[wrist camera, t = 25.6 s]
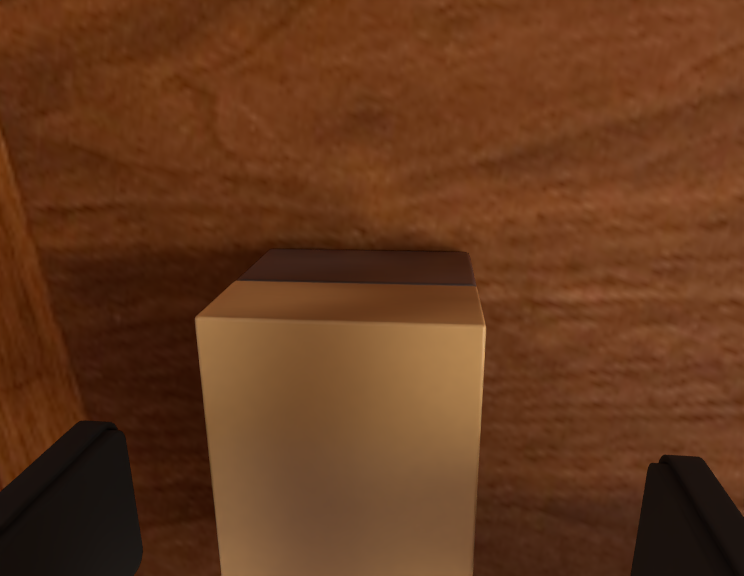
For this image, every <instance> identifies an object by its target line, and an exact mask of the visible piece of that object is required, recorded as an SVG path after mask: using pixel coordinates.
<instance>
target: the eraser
mask: <svg viewBox="0 0 744 576" xmlns="http://www.w3.org/2000/svg"><path fill="white" fill-rule="evenodd" d="M195 327H196V337H197V346H198V356H199V366H200V375H201V385H202V394H203V404H204V413H205V423H206V433H207V442H208V452H209V461H210V471H211V480H212V490H213V500H214V509H215V519H216V528H217V538H218V547H219V557H220V567H221V576H473V562H474V544H475V525H476V507H477V488H478V470H479V451H480V433H481V414H482V396H483V377H484V359H485V341H486V325H485V320H484V316H483V311H482V307H481V302H480V298H479V293H478V289H477V287H476V282H475V278H474V273H473V269H472V264H471V259H470V256H469V253H466V252H428V251H370V250H311V249H270V250H269V251H268V252H267V253H265V254H264V255H263V256H262V257H261V258H260V259H259V260H258V261H257V262H256V263H255V264H254V265H252V266H251V267H250V268H249V269H248V270H247V271H246V272H245V273H244V274H243V275H242V276H241V277H240V278H238V279H237V281H234V282H233V283H232V284H231V285H230V286H229V287H228V288H226V289H225V290H224V291H223V292H222V293H221V294H220V295H219V296H218V297H217V298H216V299H214V300H213V301H212V302H211V303H210V304H209V305H208V306H207V307H206V308H205V309H204V310H203V311H201V312H200V313H199V314H198V315H197V316H196V317H195Z"/></svg>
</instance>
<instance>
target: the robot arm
mask: <svg viewBox="0 0 744 576" xmlns="http://www.w3.org/2000/svg"><path fill="white" fill-rule="evenodd" d="M142 553H143V546H142V540H141V534H140V527H139V521H138V514H137V508H136V502H135V495H134V489H133V482H132V476H131V469H130V463H129V457H128V450H127V444H126V438H125V435H124V433H123V432H122V431H118V429H117V427H116V425H115V424H114V423H112V422H100V421H80V422H78V423H77V424H75V425H74V426H73V427H72V428H71V429H70V430H69V431H67V432H66V433H65V434H64V435H63V436H62V437H61V438H60V439H59V440H57V441H56V442H55V443H54V444H53V445H52V446H51V447H50V448H49V449H47V450H46V451H45V452H44V453H43V454H42V455H41V456H40V457H39V458H37V459H36V460H35V461H34V462H33V463H32V464H31V465H30V466H29V467H27V468H26V469H25V470H24V471H23V472H22V473H21V474H20V475H19V476H17V477H16V478H15V479H14V480H13V481H12V482H11V483H10V484H9V485H7V486H6V487H5V488H4V489H3V490H2V491H1V492H0V576H134V574H135V573H136V571H137V570H138V568H139V565H140V563H141V559H142ZM631 576H744V517H743V516H742V514H741V513H740V511H739V510H738V509H737V507H736V506H735V504H734V503H733V501H732V500H731V499H730V497H729V496H728V494H727V493H726V491H725V490H724V488H723V487H722V486H721V484H720V483H719V481H718V480H717V478H716V477H715V476H714V474H713V473H712V471H711V470H710V468H709V467H708V466H707V464H706V463H705V461H704V460H703V459H702V458H700V457H693V456H676V455H663V456H662V457H661V459H660V460H659V463H651V464H650V465H649V467H648V471H647V477H646V483H645V489H644V495H643V502H642V508H641V514H640V520H639V527H638V533H637V539H636V545H635V551H634V558H633V564H632V570H631Z"/></svg>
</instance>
